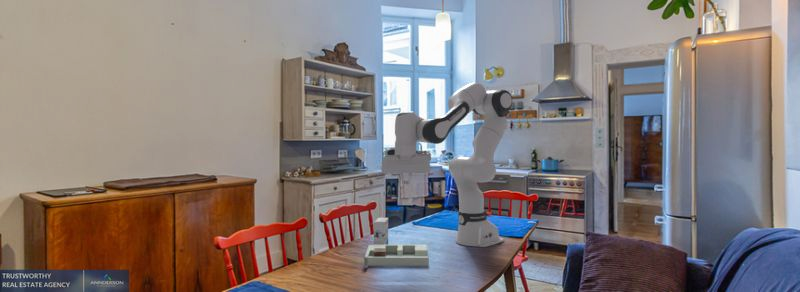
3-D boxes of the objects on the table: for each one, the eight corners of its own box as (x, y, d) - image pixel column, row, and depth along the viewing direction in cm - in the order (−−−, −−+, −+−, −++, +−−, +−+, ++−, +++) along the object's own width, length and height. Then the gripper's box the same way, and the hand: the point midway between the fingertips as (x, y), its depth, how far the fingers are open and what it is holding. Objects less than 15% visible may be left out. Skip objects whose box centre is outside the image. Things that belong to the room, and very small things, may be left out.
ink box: (378, 242, 178) (378, 217, 177) (389, 243, 177) (388, 217, 176) (373, 248, 169) (373, 221, 169) (384, 248, 168) (384, 221, 168)
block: (386, 259, 151) (385, 248, 151) (385, 263, 147) (385, 251, 146) (374, 259, 151) (374, 248, 151) (373, 263, 147) (373, 251, 146)
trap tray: (427, 254, 160) (426, 244, 160) (428, 268, 144) (428, 257, 144) (369, 253, 161) (369, 244, 161) (364, 268, 145) (364, 257, 144)
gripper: (430, 150, 162) (430, 183, 163) (381, 150, 163) (382, 183, 163) (431, 151, 156) (431, 185, 156) (380, 151, 156) (381, 185, 157)
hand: (406, 184), depth 160 cm, fingers closed
